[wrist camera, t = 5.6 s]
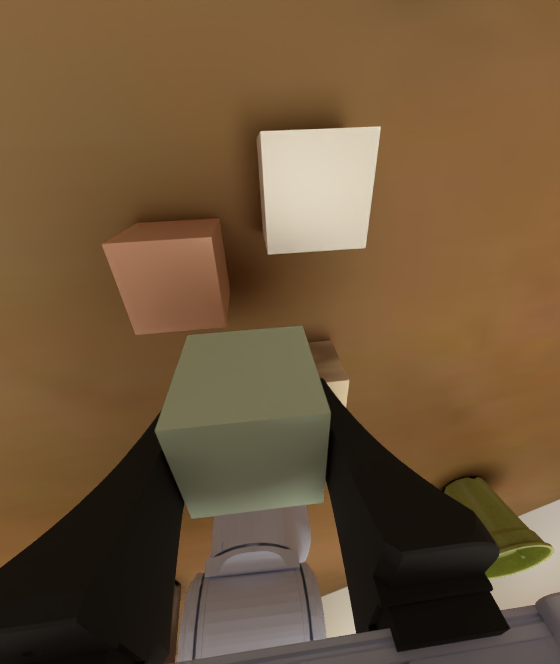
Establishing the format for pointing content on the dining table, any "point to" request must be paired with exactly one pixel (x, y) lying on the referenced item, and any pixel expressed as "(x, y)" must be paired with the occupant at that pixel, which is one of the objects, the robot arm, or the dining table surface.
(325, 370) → the maple block
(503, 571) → the plant pot
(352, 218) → the offwhite block
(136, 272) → the terracotta block
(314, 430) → the sage block
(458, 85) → the dining table surface
